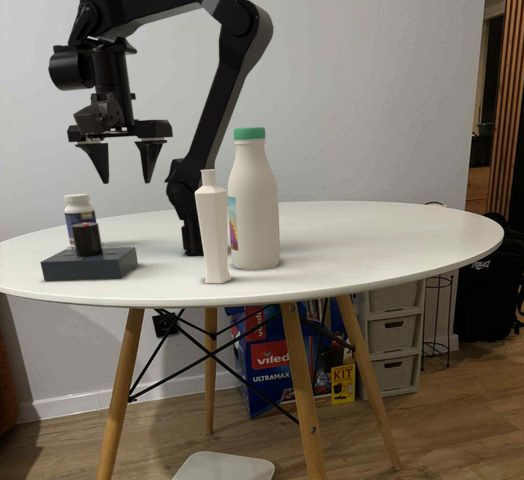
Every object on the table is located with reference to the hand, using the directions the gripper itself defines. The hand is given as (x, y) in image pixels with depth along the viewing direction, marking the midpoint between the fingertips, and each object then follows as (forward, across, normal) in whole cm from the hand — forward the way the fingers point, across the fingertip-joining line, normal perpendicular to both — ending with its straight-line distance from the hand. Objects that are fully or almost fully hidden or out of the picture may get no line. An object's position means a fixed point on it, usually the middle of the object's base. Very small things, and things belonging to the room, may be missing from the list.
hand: (126, 183), depth 91 cm
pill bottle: (+12, -13, +1) cm, 18 cm away
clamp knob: (+9, +4, -17) cm, 19 cm away
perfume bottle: (+12, +26, -16) cm, 33 cm away
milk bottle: (+12, +28, -6) cm, 31 cm away
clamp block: (+12, +4, -17) cm, 21 cm away
